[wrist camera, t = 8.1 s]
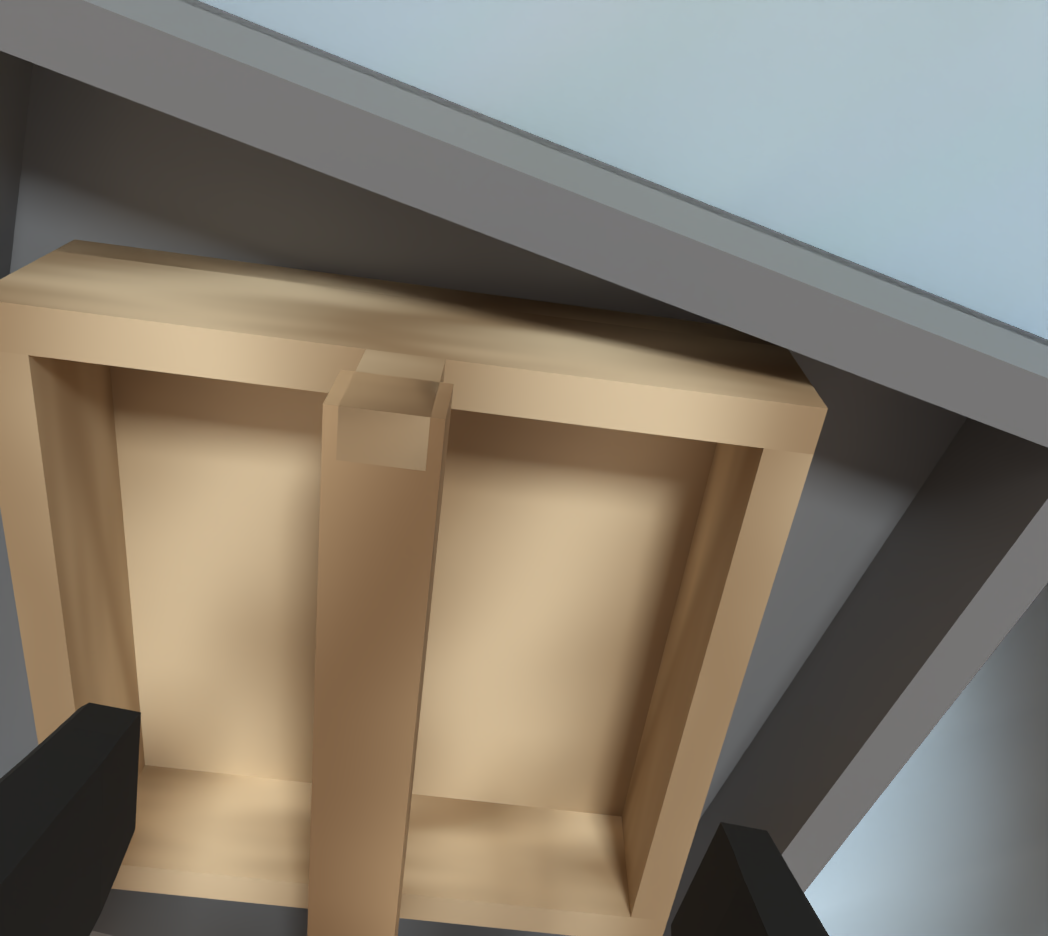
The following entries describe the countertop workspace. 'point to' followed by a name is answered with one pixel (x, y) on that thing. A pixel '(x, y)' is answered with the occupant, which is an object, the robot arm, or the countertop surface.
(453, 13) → the countertop surface
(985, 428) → the charcoal crate
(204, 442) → the pine crate
